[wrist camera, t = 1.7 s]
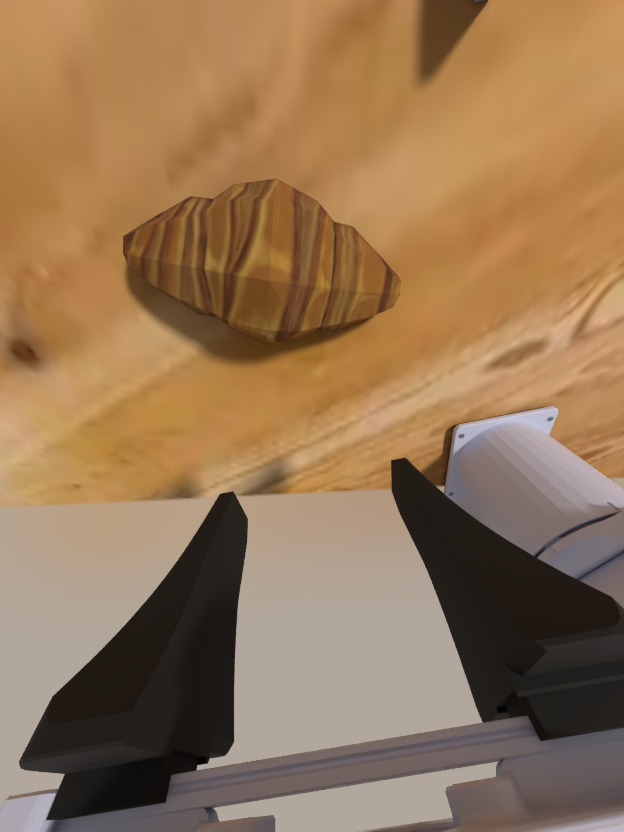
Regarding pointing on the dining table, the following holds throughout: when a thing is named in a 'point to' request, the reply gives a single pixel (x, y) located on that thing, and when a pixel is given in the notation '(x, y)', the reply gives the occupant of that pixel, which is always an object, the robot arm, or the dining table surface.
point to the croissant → (263, 262)
